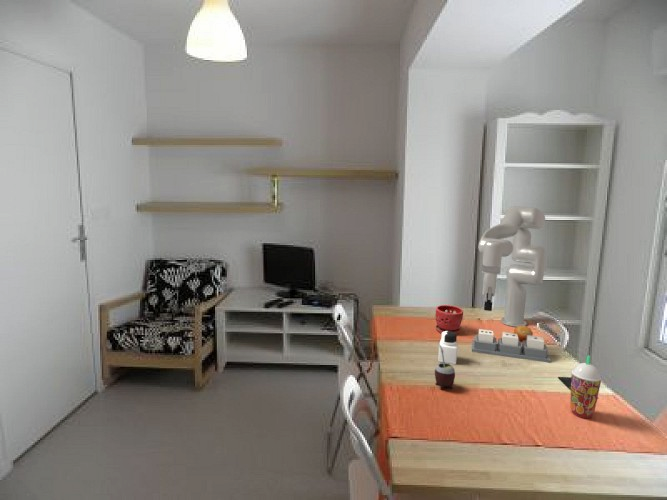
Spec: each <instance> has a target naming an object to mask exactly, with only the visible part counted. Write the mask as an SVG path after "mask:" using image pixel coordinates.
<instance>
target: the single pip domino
mask: <svg viewBox="0 0 667 500" xmlns="http://www.w3.org/2000/svg"><path fill="white" fill-rule="evenodd" d="M544 344H545V340H544V338H543V336H538V335H532V336H531V335H527V341H526V345H527V348H535V349H542V350H543V349H544Z"/></svg>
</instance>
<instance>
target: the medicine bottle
mask: <svg viewBox="0 0 667 500" xmlns="http://www.w3.org/2000/svg"><path fill="white" fill-rule="evenodd" d="M457 337H458V336H457V334H456V333H454V332H452V331H444V332H442V333H441V339H440V341H439V343H440V345H441V347H442V350H443V355H444V362H445V363H447V364H450V365H456V364H457V359H458V348H459V347H458V345H459V342H458V341H457ZM437 357H438V358H437V359H438V360H437V362H439V363H443V359H442V353H441V348H440V346H439V345H438V356H437Z"/></svg>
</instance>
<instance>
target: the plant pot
mask: <svg viewBox="0 0 667 500" xmlns="http://www.w3.org/2000/svg"><path fill="white" fill-rule="evenodd" d="M454 312H455V313H454ZM463 317H464V310H463V308H460V307H458V306H454V305H449V304H441V305H438V306H436V307H435V322H436V325H435V330H436V331H437V332H439V333H441V334H442V332H444V331H452V332H454V333H456V335H457V334H458V333H460V331H461V330H460V326H461V325H462V322H463V319H464V318H463Z"/></svg>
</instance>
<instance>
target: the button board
mask: <svg viewBox="0 0 667 500" xmlns="http://www.w3.org/2000/svg"><path fill="white" fill-rule="evenodd" d="M478 336H479V334H476V335H474V339H472V340H471V352H472V353H478V354H486V355H494V356H501V357H507V358H515V359H521V360H528V361H534V362H535V361H537V362H543V363H551V359H550V356H549V354H548V353H549V352H548V347H547V345H546V344H545V343H544V349H543V350H542V349H535V348H527V345H526V341H522V342H520V341H519V340H518V346H512V345H504V344H502V337H499V338H497V337H495V336H493V343H489V342H482V341H478Z"/></svg>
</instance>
